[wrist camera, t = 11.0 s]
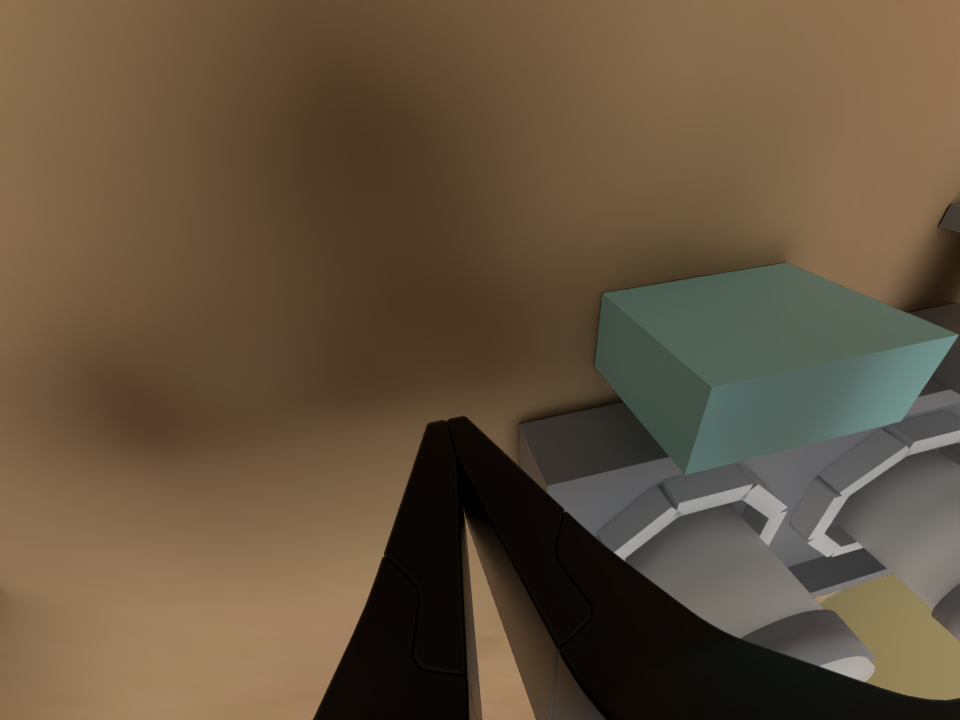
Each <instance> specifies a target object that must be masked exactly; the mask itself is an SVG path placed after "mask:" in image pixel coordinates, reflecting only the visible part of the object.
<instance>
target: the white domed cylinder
mask: <svg viewBox="0 0 960 720" xmlns="http://www.w3.org/2000/svg"><path fill="white" fill-rule="evenodd" d="M625 562H627V563H628V564H629V565H631V566H632V567H633V568H635V569H636V570H637V571H639V572H640V573H641V574H643V575H644V576H645V577H647V578H648V579H649V580H651V581H652V582H653V583H655V584H656V585H657V586H659V587H660V588H661V589H663V590H664V591H665V592H667V593H668V594H669V595H671V596H672V597H673V598H675V599H676V600H677V601H679V602H680V603H681V604H683V605H684V606H685V607H687V608H688V609H689V610H691V611H692V612H693V613H695V614H696V615H698V616H699V617H701V618H702V619H704V620H705V621H707V622H709V623H710V624H712V625H714V626H715V627H717V628H719V629H721V630H723V631H725V632H727V633H729V634H731V635H733V636H736V637H738V638H741V639H743V640H746V641H749V642H752V643H755V644H757V645H760V646H763V647H766V648H769V649H772V650H774V651H777V652H780V653H783V654H786V655H789V656H792V657H794V658H797V659H800V660H803V661H806V662H809V663H812V664H814V665H817V666H820V667H823V668H826V669H829V670H831V671H834V672H837V673H840V674H843V675H846V676H849V677H851V678H854V679H857V680H860V681H863V682H866V681H867V680H868V679H869V678H870V676H871V675H872V674H873V673H874V671H875V667H874V665H873V662H874V659H875V657H874V655H873V654H872V653H871V651H870V650H869V649H868V648H867V647H866V646H865V645H864V644H863V642H862V641H861V640H860V639H859V638H858V637H857V636H856V635H855V634H854V633H853V631H852V630H851V629H850V628H849V627H848V626H847V625H846V624H845V623H844V621H843V620H842V619H841V618H840V617H839V616H838V615H837V614H836V613H835V612H834V611H831V610H824V609H823V608H822V606H821V605H820V604H819V603H818V602H817V601H816V600H815V599H814V597H813V596H812V595H811V594H810V593H809V592H808V591H807V589H806V588H805V587H804V586H803V585H802V584H801V583H800V582H799V580H798V579H797V578H796V577H795V576H794V575H793V574H792V573H791V571H790V570H789V569H788V568H787V567H786V566H785V565H784V564H783V562H782V561H781V560H780V559H779V558H778V557H777V556H776V554H775V553H774V552H773V551H772V550H771V549H770V548H769V547H768V545H767V544H766V543H765V542H764V541H763V540H762V539H761V538H760V536H759V535H758V534H757V533H756V532H755V531H754V530H753V529H752V527H751V526H750V525H749V524H748V523H747V522H746V521H745V519H744V518H743V517H742V516H741V515H740V514H739V513H738V512H737V510H736V509H735V508H734V507H733V506H732V505H731V504H730V503H727V504H724V505H720V506H716V507H712V508H709V509H705V510H701V511H697V512H694V513H690V514H686V515H682V516H679V517H678V518H676V519H675V520H674V521H672V522H671V523H670V524H669V525H667V526H666V527H665V528H663V529H662V530H661V531H660V532H658V533H657V534H656V535H654V536H653V537H652V538H651V539H649V540H648V541H647V542H645V543H644V544H643V545H642V546H640V547H639V548H638V549H637V550H635V551H634V552H633V553H631V554H630V555H629V556H628V557H626V558H625Z"/></svg>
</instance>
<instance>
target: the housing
mask: <svg viewBox="0 0 960 720" xmlns="http://www.w3.org/2000/svg"><path fill="white" fill-rule="evenodd" d="M939 228H943V229H947V230H952V231H956V232H960V203H957V204H951V205H950V207H949V209H948V210H947V212H946V214H945V216H944V218H943V220H942V221H941V223H940V225H939ZM909 314H911V315H913V316H916V317H918V318H921V319H923V320H925V321H928V322H930V323H933V324H935V325H937V326H940V327H942V328H945V329H947V330H949V331H952V332H954V333H957V334H959V336H958V337H957V339H956V340H955V342H954V343H953V345H952V346H951V348H950V349H949V351H948V352H947V354H946V355H945V357H944V358H943V360H942V361H941V363H940V364H939V366H938V367H937V369H936V370H935V372H934V373H933V374H932V376H931V377H930V379H929V380H928V382H927V383H926V385H925V386H924V388H923V389H922V391H921V392H920V394H919V395H918V397H917V398H916V400H915V401H914V403H913V404H912V406H911V407H910V409H909V410H908V412H907V413H906V415H905V416H904V418H903V419H902V421H901V422H897V423H893V424H889V425H885V426H881V427H877V428H873V429H869V430H865V431H861V432H857V433H853V434H849V435H845V436H840V437H836V438H832V439H828V440H824V441H820V442H816V443H812V444H808V445H804V446H800V447H796V448H792V449H788V450H784V451H780V452H776V453H772V454H768V455H764V456H760V457H756V458H752V459H748V460H744V461H740V462H736V463H732V464H728V465H724V466H720V467H716V468H712V469H708V470H704V471H700V472H696V473H692V474H688V475H684V474H683V473H682V471H681V470H680V469H679V468H678V467H677V465H676V464H675V463H674V462H673V461H672V459H671V458H670V457H669V456H668V455H667V453H666V452H665V451H664V450H663V449H662V447H661V446H660V445H659V444H658V443H657V441H656V440H655V439H654V438H653V437H652V435H651V434H650V433H649V432H648V430H647V429H646V428H645V427H644V426H643V424H642V423H641V422H640V421H639V420H638V418H637V417H636V416H635V415H634V414H633V412H632V411H631V410H630V409H629V408H628V406H627V405H626V404H625V403H624V402H621V403H616V404H611V405H606V406H602V407H597V408H592V409H588V410H583V411H578V412H574V413H569V414H564V415H559V416H555V417H550V418H545V419H541V420H536V421H531V422H527V423H522V424H519V467H520V468H521V469H522V470H523V471H524V472H525V473H527V474H528V475H529V476H530V477H531V478H532V479H533V480H534V481H535V482H536V483H537V484H538V485H539V486H540V487H541V488H543V489H544V490H545V491H546V492H547V493H548V494H549V495H550V496H551V497H552V498H553V499H554V500H555V501H556V502H557V503H559V504H560V505H561V506H562V507H563V508H564V510H565V511H564V512H566V511H567V512H568V513H569V514H570V515H572V516H573V517H574V518H575V519H576V520H577V521H578V522H579V523H580V524H581V525H582V526H583V527H584V528H586V529H587V530H588V531H589V532H590V533H591V534H592V535H593V536H595V537H596V538H597V539H598V540H599V541H600V542H601V543H603V544H604V545H605V546H606V547H608V548H609V549H610V550H612V551H613V552H614V553H615V554H617V555H618V556H619V557H620V558H622V559H623V560H624V561H625V558H626V557H628V556H629V555H630V554H631V553H633V552H634V551H635V550H637V549H638V548H639V547H640V546H642V545H643V544H644V543H645V542H647V541H648V540H649V539H651V538H652V537H653V536H654V535H656V534H657V533H658V532H660V531H661V530H662V529H663V528H665V527H666V526H667V525H669V524H670V523H671V522H672V521H674V520H675V519H676V518H678V517H679V516H682V515H686V514H690V513H694V512H697V511H701V510H705V509H709V508H712V507H716V506H720V505H724V504H727V503H730V504H731V505H732V506H733V507H734V508H735V509H736V510H737V512H738V513H739V514H740V515H741V516H742V517H743V518H744V519H745V521H746V522H747V523H748V524H749V525H750V526H751V527H752V529H753V530H754V531H755V532H756V533H757V534H758V535H759V536H760V538H761V539H762V540H763V541H764V542H765V543H766V544H767V545H768V547H769V548H770V549H771V550H772V551H773V552H774V553H775V554H776V556H777V557H778V558H779V559H780V560H781V561H782V562H783V564H784V565H785V566H786V567H787V568H788V569H789V570H790V571H791V573H792V574H793V575H794V576H795V577H796V578H797V579H798V580H799V582H800V583H801V584H802V585H803V586H804V587H805V588H806V589H807V591H808V592H809V593H810V594H811V595H812V596H813V597H814V598H816V597H819V596H822V595H826V594H829V593H832V592H835V591H838V590H841V589H844V588H848V587H851V586H854V585H857V584H860V583H863V582H866V581H869V580H872V579H876V578H879V577H882V576H885V575H888V574H892V573H891V572H890V571H889V570H888V569H887V568H886V567H885V566H883V565H882V564H881V563H880V562H879V561H878V560H877V559H876V558H874V557H873V556H872V555H871V554H870V553H869V552H868V551H867V550H866V549H864V548H863V547H862V546H861V545H860V544H859V543H858V542H857V541H856V540H854V539H853V538H852V537H851V536H850V535H849V534H848V533H847V532H845V531H844V530H843V529H842V528H841V527H840V526H839V525H838V524H837V523H835V522H834V521H833V519H834V518H835V516H836V515H837V513H838V512H839V510H840V509H841V507H842V506H843V504H844V503H845V501H846V500H847V498H848V497H849V496H850V495H851V494H853V493H854V492H856V491H857V490H859V489H860V488H862V487H863V486H864V485H866V484H867V483H869V482H870V481H872V480H873V479H874V478H876V477H877V476H879V475H880V474H882V473H883V472H885V471H886V470H887V469H889V468H890V467H892V466H893V465H895V464H896V463H898V462H899V461H900V460H902V459H903V458H905V457H906V456H908V455H912V454H916V453H919V452H923V451H927V450H931V449H934V450H936V451H938V452H939V453H941V454H942V455H944V456H946V457H947V458H949V459H951V460H952V461H954V462H955V463H957V464H959V465H960V305H959V304H957V303H954V304H949V305H944V306H939V307H934V308H929V309H924V310H919V311H914V312H909Z"/></svg>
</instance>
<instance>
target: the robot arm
mask: <svg viewBox="0 0 960 720" xmlns="http://www.w3.org/2000/svg"><path fill="white" fill-rule="evenodd" d="M564 511H565V510H564V508H563V507H562V506H561V505H560V504H559V503H557V502H556V501H555V500H554V499H553V498H552V497H551V496H550V495H549V494H548V493H547V492H546V491H545V490H544V489H543V488H541V487H540V486H539V485H538V484H537V483H536V482H535V481H534V480H533V479H532V478H531V477H530V476H529V475H528V474H527V473H525V472H524V471H523V470H522V469H521V468H520V467H519V466H518V465H517V464H516V463H515V462H514V461H513V460H512V459H511V458H509V457H508V456H507V455H506V454H505V453H504V452H503V451H502V450H501V449H500V448H499V447H498V446H497V445H496V444H495V443H494V442H492V441H491V440H490V439H489V438H488V437H487V436H486V435H485V434H484V433H483V432H482V431H481V430H480V429H479V428H478V427H476V426H475V425H474V424H473V423H472V422H471V421H470V420H469V419H468V418H467V417H465V416H460V417H455V418H450V419H448V420H447V422H446V421H445V420H440V421H435V422H430V423H428V424H427V426H426V429H425V432H424V435H423V438H422V441H421V444H420V447H419V450H418V453H417V456H416V459H415V462H414V465H413V468H412V471H411V474H410V477H409V480H408V483H407V486H406V489H405V492H404V495H403V498H402V501H401V504H400V507H399V510H398V513H397V516H396V519H395V522H394V525H393V528H392V531H391V534H390V537H389V540H388V543H387V546H386V549H385V552H384V557H383V558H382V560H381V563H380V566H379V569H378V572H377V575H376V578H375V580H374V583H373V586H372V589H371V591H370V594H369V597H368V599H367V602H366V605H365V607H364V609H363V612H362V614H361V616H360V619H359V621H358V623H357V625H356V628H355V630H354V632H353V635H352V637H351V639H350V641H349V643H348V646H347V648H346V650H345V652H344V654H343V656H342V658H341V661H340V663H339V665H338V667H337V669H336V671H335V673H334V675H333V678H332V680H331V682H330V684H329V686H328V688H327V690H326V693H325V695H324V697H323V699H322V701H321V703H320V705H319V708H318V710H317V712H316V714H315V716H314V718H313V720H482V710H481V698H480V686H479V675H478V663H477V652H476V640H475V628H474V617H473V605H472V593H471V582H470V570H469V558H468V547H467V535H466V525H465V518H466V521H467V524H468V527H469V530H470V533H471V536H472V539H473V541H474V544H475V547H476V550H477V553H478V556H479V559H480V561H481V564H482V567H483V570H484V573H485V576H486V578H487V581H488V584H489V587H490V590H491V593H492V596H493V598H494V601H495V604H496V607H497V610H498V613H499V616H500V618H501V621H502V624H503V627H504V630H505V633H506V635H507V638H508V641H509V644H510V647H511V650H512V653H513V655H514V658H515V661H516V664H517V667H518V670H519V672H520V675H521V678H522V681H523V684H524V687H525V690H526V692H527V695H528V698H529V701H530V704H531V707H532V709H533V712H534V715H535V718H536V720H960V698H958V699H952V700H932V699H931V700H930V699H923V698H918V697H912V696H907V695H903V694H900V693H896V692H893V691H890V690H886V689H883V688H880V687H877V686H874V685H871V684H868V683H865V682H863V681H860V680H857V679H854V678H851V677H849V676H846V675H843V674H840V673H837V672H834V671H831V670H829V669H826V668H823V667H820V666H817V665H814V664H812V663H809V662H806V661H803V660H800V659H797V658H794V657H792V656H789V655H786V654H783V653H780V652H777V651H774V650H772V649H769V648H766V647H763V646H760V645H757V644H755V643H752V642H749V641H746V640H743V639H741V638H738V637H736V636H733V635H731V634H729V633H727V632H725V631H723V630H721V629H719V628H717V627H715V626H714V625H712V624H710V623H709V622H707V621H705V620H704V619H702V618H701V617H699V616H698V615H696V614H695V613H693V612H692V611H691V610H689V609H688V608H687V607H685V606H684V605H683V604H681V603H680V602H679V601H677V600H676V599H675V598H673V597H672V596H671V595H669V594H668V593H667V592H665V591H664V590H663V589H661V588H660V587H659V586H657V585H656V584H655V583H653V582H652V581H651V580H649V579H648V578H647V577H645V576H644V575H643V574H641V573H640V572H639V571H637V570H636V569H635V568H633V567H632V566H631V565H629V564H628V563H627V562H625V561H624V560H623V559H622V558H620V557H619V556H618V555H617V554H615V553H614V552H613V551H612V550H610V549H609V548H608V547H606V546H605V545H604V544H603V543H601V542H600V541H599V540H598V539H597V538H596V537H595V536H593V535H592V534H591V533H590V532H589V531H588V530H587V529H586V528H584V527H583V526H582V525H581V524H580V523H579V522H578V521H577V520H576V519H575V518H574V517H573V516H572V515H570V514H569V513H568V512H567V511H566V512H564ZM464 514H465V517H464Z"/></svg>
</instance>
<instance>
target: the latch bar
mask: <svg viewBox="0 0 960 720" xmlns="http://www.w3.org/2000/svg"><path fill="white" fill-rule="evenodd" d="M958 336H959V334H957V333H954V332H952V331H949V330H947V329H945V328H942V327H940V326H937V325H935V324H933V323H930V322H928V321H925V320H923V319H921V318H918V317H916V316H913V315H911V314H909V313H906V312H904V311H901V310H899V309H897V308H894V307H892V306H889V305H887V304H885V303H882V302H880V301H877V300H875V299H873V298H870V297H868V296H865V295H863V294H861V293H858V292H856V291H853V290H851V289H849V288H846V287H844V286H841V285H839V284H837V283H834V282H832V281H829V280H827V279H825V278H822V277H820V276H817V275H815V274H813V273H810V272H808V271H805V270H803V269H801V268H798V267H796V266H793V265H791V264H789V263H781V264H775V265H769V266H763V267H757V268H751V269H745V270H739V271H733V272H727V273H721V274H715V275H709V276H703V277H697V278H691V279H685V280H679V281H673V282H667V283H661V284H655V285H649V286H643V287H637V288H631V289H625V290H619V291H613V292H607V293H602V302H601V311H600V320H599V329H598V338H597V347H596V357H595V366H594V367H595V368H596V369H597V370H598V371H599V373H600V374H601V375H602V376H603V377H604V379H605V380H606V381H607V382H608V383H609V385H610V386H611V387H612V388H613V389H614V391H615V392H616V393H617V394H618V396H619V397H620V398H621V399H622V400H623V402H624V403H625V404H626V405H627V406H628V408H629V409H630V410H631V411H632V412H633V414H634V415H635V416H636V417H637V418H638V420H639V421H640V422H641V423H642V424H643V426H644V427H645V428H646V429H647V430H648V432H649V433H650V434H651V435H652V437H653V438H654V439H655V440H656V441H657V443H658V444H659V445H660V446H661V447H662V449H663V450H664V451H665V452H666V453H667V455H668V456H669V457H670V458H671V459H672V461H673V462H674V463H675V464H676V465H677V467H678V468H679V469H680V470H681V471H682V473H683V474H684V475H688V474H692V473H696V472H700V471H704V470H708V469H712V468H716V467H720V466H724V465H728V464H732V463H736V462H740V461H744V460H748V459H752V458H756V457H760V456H764V455H768V454H772V453H776V452H780V451H784V450H788V449H792V448H796V447H800V446H804V445H808V444H812V443H816V442H820V441H824V440H828V439H832V438H836V437H840V436H845V435H849V434H853V433H857V432H861V431H865V430H869V429H873V428H877V427H881V426H885V425H889V424H893V423H897V422H901V421H902V419H903V418H904V416H905V415H906V413H907V412H908V410H909V409H910V407H911V406H912V404H913V403H914V401H915V400H916V398H917V397H918V395H919V394H920V392H921V391H922V389H923V388H924V386H925V385H926V383H927V382H928V380H929V379H930V377H931V376H932V374H933V373H934V372H935V370H936V369H937V367H938V366H939V364H940V363H941V361H942V360H943V358H944V357H945V355H946V354H947V352H948V351H949V349H950V348H951V346H952V345H953V343H954V342H955V340H956V339H957V337H958Z"/></svg>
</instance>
